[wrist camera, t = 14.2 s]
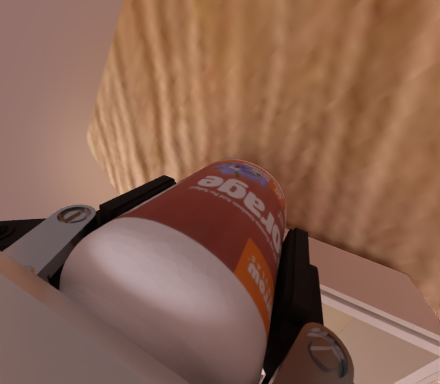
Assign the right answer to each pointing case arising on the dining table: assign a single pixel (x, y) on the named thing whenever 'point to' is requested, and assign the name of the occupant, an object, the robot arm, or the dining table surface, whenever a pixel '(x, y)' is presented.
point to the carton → (377, 318)
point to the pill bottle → (190, 272)
